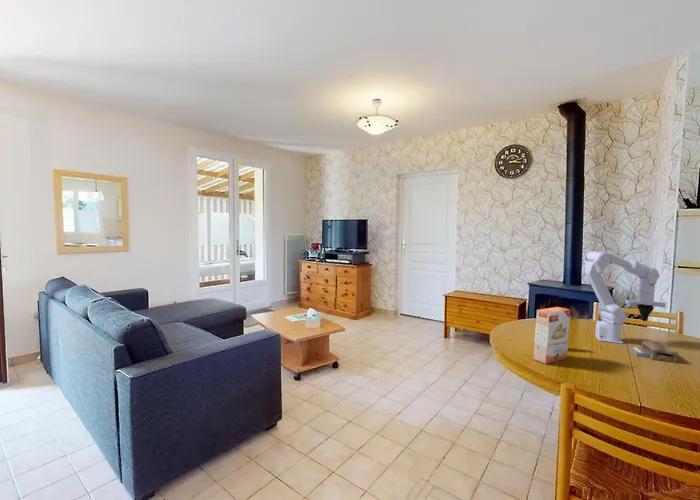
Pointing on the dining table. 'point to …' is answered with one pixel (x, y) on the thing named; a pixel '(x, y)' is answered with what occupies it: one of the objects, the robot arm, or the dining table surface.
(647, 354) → the tile
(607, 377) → the dining table surface
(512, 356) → the dining table surface
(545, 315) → the cracker box
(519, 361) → the dining table surface
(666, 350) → the shelf
